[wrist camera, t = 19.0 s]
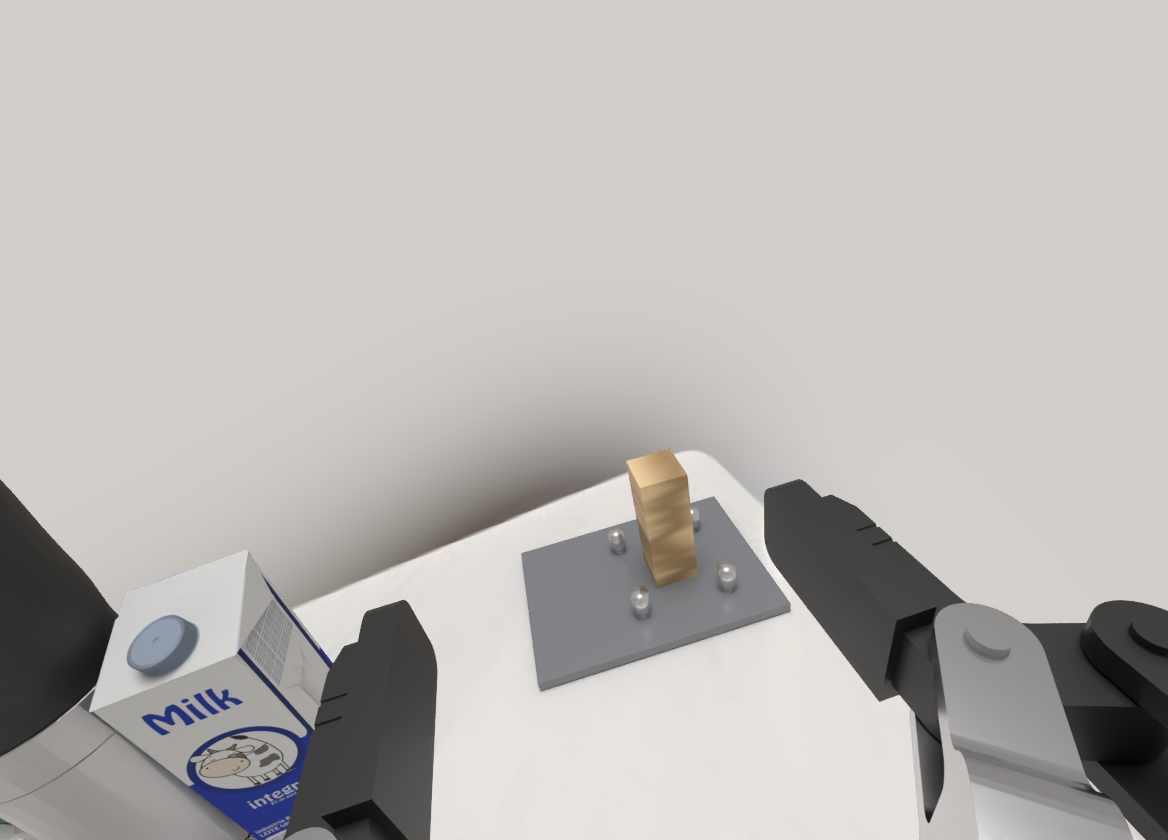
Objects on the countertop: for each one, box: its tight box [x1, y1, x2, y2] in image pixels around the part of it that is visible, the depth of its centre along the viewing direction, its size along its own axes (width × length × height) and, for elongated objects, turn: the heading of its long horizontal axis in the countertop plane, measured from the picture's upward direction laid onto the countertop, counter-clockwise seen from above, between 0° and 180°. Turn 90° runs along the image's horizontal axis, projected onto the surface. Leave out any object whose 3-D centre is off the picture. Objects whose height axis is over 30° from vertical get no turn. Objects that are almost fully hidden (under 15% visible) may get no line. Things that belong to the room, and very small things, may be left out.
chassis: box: [521, 497, 790, 691], centre depth 46 cm, size 22×15×4 cm
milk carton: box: [89, 550, 333, 840], centre depth 32 cm, size 7×7×20 cm
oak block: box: [626, 449, 698, 588], centre depth 44 cm, size 4×4×12 cm
